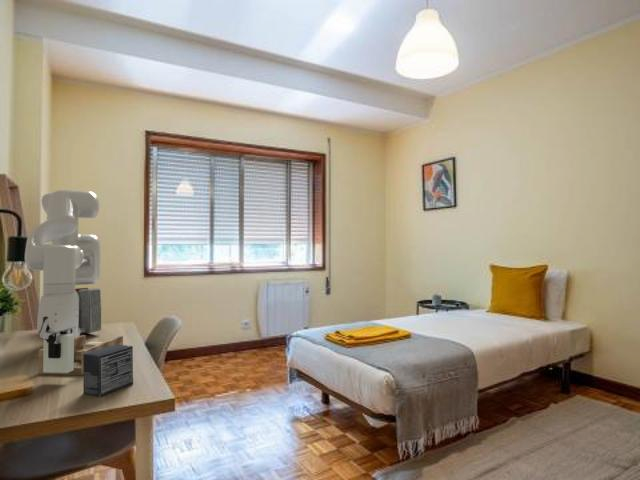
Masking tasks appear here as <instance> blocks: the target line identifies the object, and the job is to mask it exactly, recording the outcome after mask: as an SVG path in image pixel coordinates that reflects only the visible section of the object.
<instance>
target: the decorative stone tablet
mask: <svg viewBox="0 0 640 480" xmlns="http://www.w3.org/2000/svg"><path fill="white" fill-rule="evenodd" d="M75 291H76V292H77V293H78V295H79V328H85V332H83V333H80V335H85V334H89V333H90V334H91V333H95V332H100V331H101V330H102V299H101V298H102V296H101V292H102V291H101V288H100V287H98V288H94V287H93V288H89V287H81V288H78V287H77V288H75Z"/></svg>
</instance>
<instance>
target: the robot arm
mask: <svg viewBox="0 0 640 480" xmlns="http://www.w3.org/2000/svg"><path fill="white" fill-rule="evenodd" d="M41 205H42V206H41V207H42V208H43V211H44V212H45V213H46V216H47V218H46V221H43V222H42V223H39V225H37V226H36V227H35V228H34V229H33V230H32V231H31V232H30V233H29V235H28V236H27V239H26V244H25V251H24V263H25V266H26V267H27V268H28V269H29V270H31V271H36V272H37V271H38V272H39V271H43V273H42V275H43V276H42V278H43V279H42V281H43V282H42V296H41V297H40V301H39V305H38V311H37V324H36V329H37V333H39V338H40V339H43V340H44V339H45V340H46V341H47V344H48V358H60V357H61V343H59V334H74V338H76V337H79V336H81V334H80V333H83V332H85V328H79V295H78V293H77V292H76V291H75V289H76V286H80V285H81V286H82V285H94V284H96V283H98V282H99V280H100V277H101V240H100V239H99V237H98V236H97V235H95V234H91V233H90V234H87V233H85V234H81V233H79V218H80V219H81V218H82V219H94V218H96V217H97V216H98V214H99V211H100V200H99V197H98V195H97V193H94V192H93V191H85V190H71V189H68V190H67V189H60V190H56V191H54V192H49V193H46V194H43V196H42V197H41ZM49 242H51V243H49ZM46 243H47V244H46ZM48 243H49V244H48ZM52 334H54V335H55V336H53V335H52Z"/></svg>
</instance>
